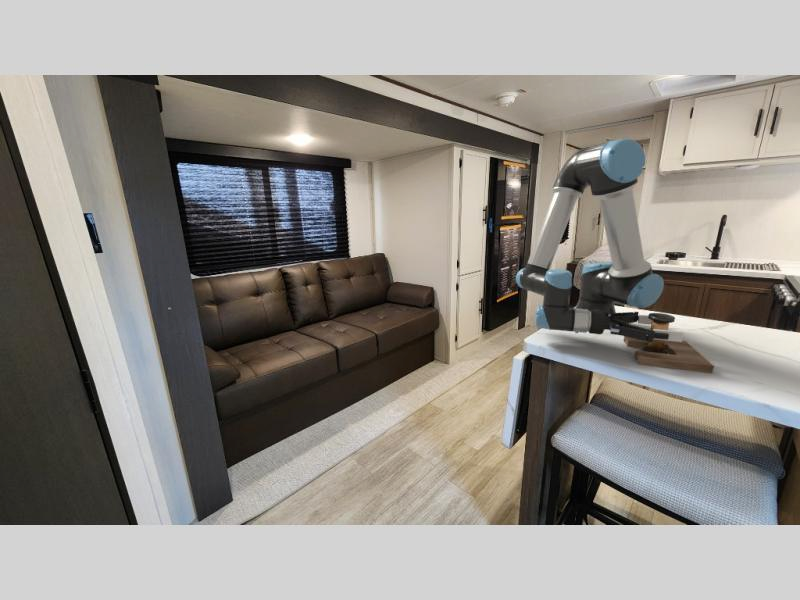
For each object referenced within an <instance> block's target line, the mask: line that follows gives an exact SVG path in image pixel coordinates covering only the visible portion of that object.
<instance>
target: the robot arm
mask: <svg viewBox="0 0 800 600" xmlns="http://www.w3.org/2000/svg"><path fill="white" fill-rule="evenodd" d="M645 153H646V152H645V150H644V148H643V146H641V144H639V142H637V141H635V140H633V139H631V138H621V139H614V140H610V141H606V142H602V143H598V144H595V145H592V146H591V145H590V146H587V147H584V148H581V149H579V150H577V151H576V152H574V153H573V154H572V155H571V156H569V158H568V159H567V160H566V162H564V164H563V165H562V168H561V169H560V171H559V173H558V174H557V177H556V178H555V180H554V184H553V186H552V189H551V192H552V197H551V200H550V202H549V205H548V208H547V210H546V213H545V215H544V219H543V221H542V224H541V227H540V228H539V232H538V234H537V237H536V240H535V242H534V244H533V248H532V250H531V253H530V255H529V258H528V261H527V263H526V267H524V268H521V269H520V270H519V271H518V272H517V273H516V275H515V283H516V284H517V286H518V287H519V288H522V289H524V290H525V291H527V292H532V293H534V294H537V295H538V296H539V295H540V296H543V300H542V301H543V303H542V304H541V305H537V306H536V307H535V308H536V309H535V318H534V320H535V321H534V322H535V323H534V325H535V326H536V327H537V328H539V329H544V330H549V331H561V332H562V331H563V332H572V333H573V332H574V334H579V333H583V334H584V333H585V334H586V333H589V334H593V335H603V333H605V332H604V331H605V330H608V331H610V332H609V333H610V335H614V336H620V337H621V336H622V337H624V336H626V337H630V338H634V339H639V340H643V341H648V342H653V339H656V340H666V341H677V342H682V341H683V338H684V331H680V330H679V331H678V330H669V329H668V330H658V329H653V330H650V329H649V328H645V327H641V326H639V325H638V326H637V325H633V323H637V324H641V325H651V323H652V320H650V319H649V318H648V315H649V314H648V315H647V314H639V313H640V312H639V311H626V312H617V311H616V308H615V302H616V303H619V304H623V305H627V306H629V307H632V308H633V307H634V308H639V309H644V308H647V307H650V306H651V305H653V304H654V303H656V301H658V300H659V298H660V297H661V294H662V292H663V290H664V287H665V286H664V285H665V281H664V278H663V277H662V276H661V275H660V274H657V273H653V267H652V263H651V262H649V261H647V260H645V259H644V258H645V257H644V252H643V245H642V239H641V233H640V228H639V227H640V226H639V221H638V215H637V209H636V202H635V197H634V190H633V189H634V188H635V187H636V185H637V184H638V182H639V181H638V178H639V177H640V176H641V175H642V173H643V172H644V167H645V166H646V154H645ZM587 187H590V191H591V196H593V197H595V198H596V199H598V201H599V206H600V210H601V211H600V213H601V215H602V221H603V226H604V230H605V235H606V240H607V246H608V251H609V254H610V260H611V262H592V263H586V264H585V265H583V268H582V273H581V277H580V289H579V297H578V302H577V303H576V306H575V307H574V308H573V307H570V299H571V293H572V287H573V274H572V272H571V271H570V270H566V269H551V266H552V263H553V260H554V258H555V256H556V253H557V251H558V248H559V246H560V244H561V243H560V242H561V241H562V238H563V235H564V233H565V230H566V228H567V225H568V223H569V220H570V219H571V216H572V212H573V210H574V208H575V205H576V202H577V201H578V199H580V198H581V197H582V196H583V194H584V192H585V190H586V189H587Z"/></svg>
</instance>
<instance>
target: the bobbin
mask: <svg viewBox="0 0 800 600" xmlns="http://www.w3.org/2000/svg"><path fill="white" fill-rule="evenodd" d="M648 318H649V319H650V320H652V323H651V324H650V329H649V330H653V329H658V330H669V327H670V323H674V322H675V320H676V317H675V315H674V316H673V315H671V314H667V313H662V312H661V313H660V312H651V313H649V314H648ZM665 342H666V340H656V339H653V342H648V344H647V347H644V348H641V351H644V352H653V353H662V354H669V353H668V352H667V351H666V350H664V347H665Z"/></svg>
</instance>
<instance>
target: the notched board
mask: <svg viewBox="0 0 800 600" xmlns="http://www.w3.org/2000/svg"><path fill="white" fill-rule="evenodd" d="M623 342H624V344H625V345H626V347H629V348H630V347H631V348H641V349H642V348H644V347H647V344H648V341H643V340H639V339H634V338H630V337H626V336H623ZM664 350H665V351H666V352H667V353H668V354H662V353H653V352H644V351H642V350H634V357H633V358H634V359H635V360H636V361H637V363H638V364H639V365H645V366H653V367H659V368H660V367H661V368H668V369H677V370H685V371H693V372H698V373H699V372H700V373H707V374H713V371H714V367H715V366H714V365H713V363H711V362H710V361H709V360H708V359H707V358H705V357H704V356H703V355H702V354H701V353H699V351H698V350H696V349H695V348H694V347H693V346H692V345H691V344H689V343H688V342H687V341H686V340H682V342H677V341H666V342H665V347H664Z"/></svg>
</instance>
